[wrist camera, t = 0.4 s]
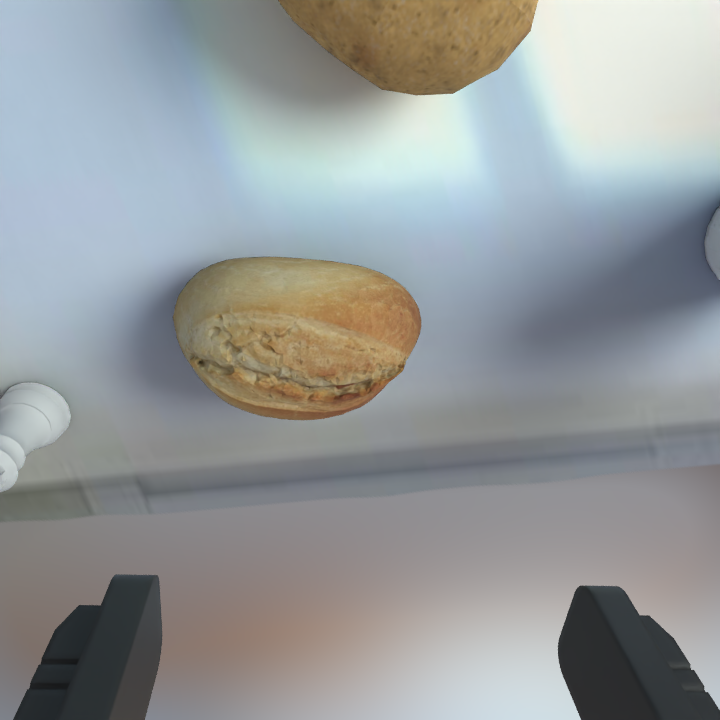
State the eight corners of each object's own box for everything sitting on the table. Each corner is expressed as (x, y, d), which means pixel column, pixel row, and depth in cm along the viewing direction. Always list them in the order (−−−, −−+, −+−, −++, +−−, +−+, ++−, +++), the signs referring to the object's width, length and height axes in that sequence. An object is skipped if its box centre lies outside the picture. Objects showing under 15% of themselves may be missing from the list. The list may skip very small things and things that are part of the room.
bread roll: (408, 381, 41) (429, 444, 34) (188, 381, 40) (161, 446, 33) (419, 244, 37) (445, 282, 30) (175, 239, 36) (141, 277, 29)
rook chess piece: (3, 431, 41) (-64, 506, 33) (3, 373, 39) (-68, 439, 32) (72, 441, 41) (21, 517, 34) (74, 385, 40) (22, 452, 32)
